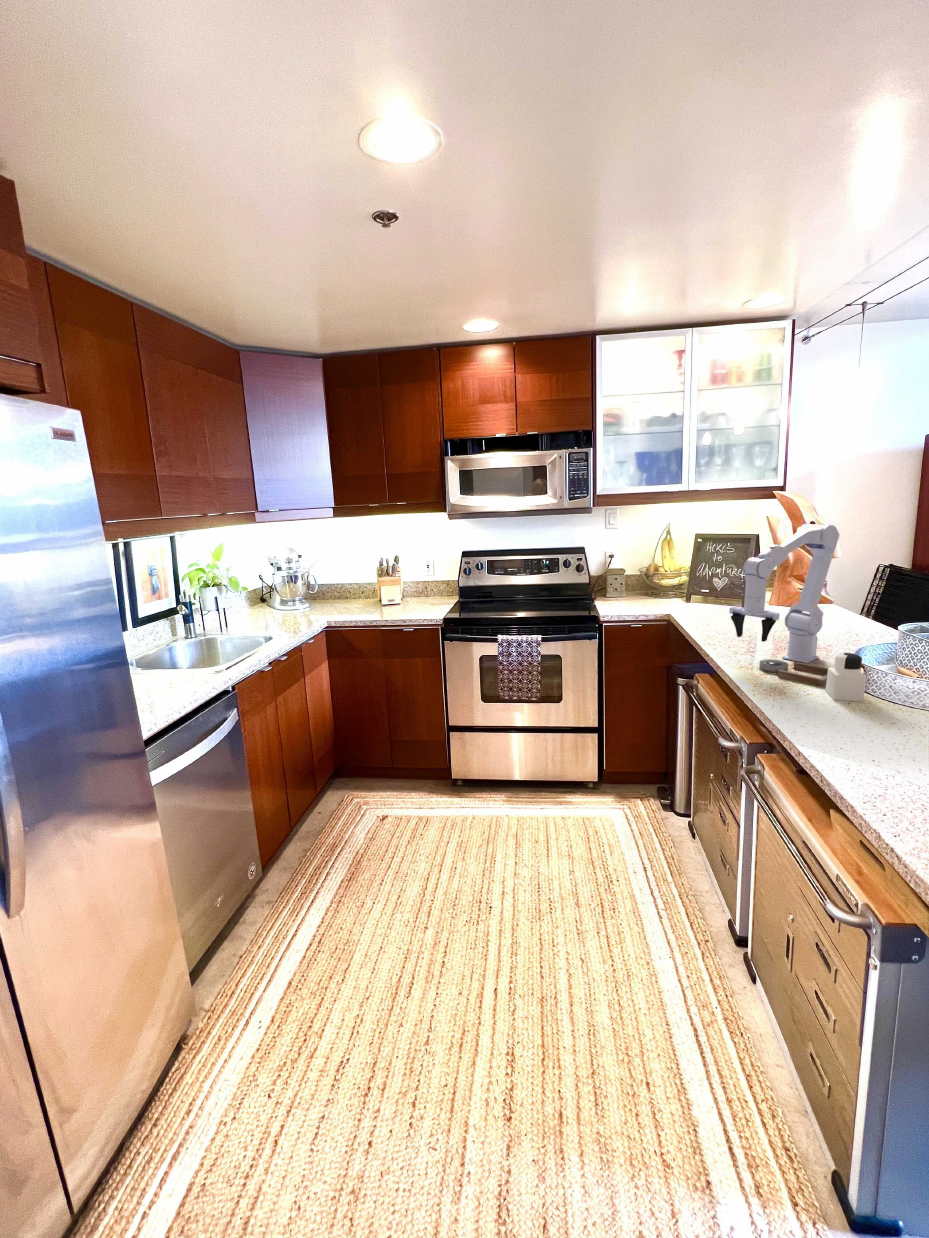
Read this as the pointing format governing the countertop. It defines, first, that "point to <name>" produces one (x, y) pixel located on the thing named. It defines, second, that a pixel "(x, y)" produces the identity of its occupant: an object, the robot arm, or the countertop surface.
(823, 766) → the countertop surface
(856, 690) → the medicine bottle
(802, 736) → the countertop surface
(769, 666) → the ring
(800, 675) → the cradle
